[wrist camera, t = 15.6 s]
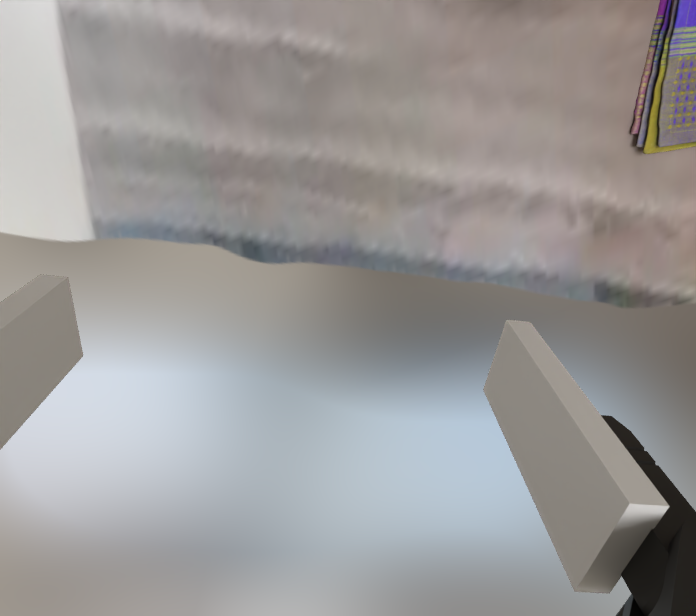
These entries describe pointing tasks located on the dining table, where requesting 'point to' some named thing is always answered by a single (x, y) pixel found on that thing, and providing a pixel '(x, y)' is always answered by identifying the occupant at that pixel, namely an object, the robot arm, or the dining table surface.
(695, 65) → the dish towel
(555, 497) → the robot arm
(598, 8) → the dining table surface
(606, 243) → the dining table surface
